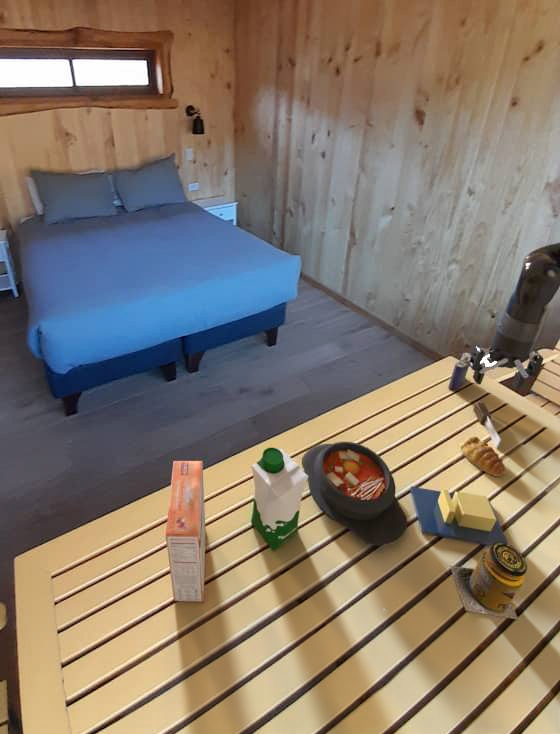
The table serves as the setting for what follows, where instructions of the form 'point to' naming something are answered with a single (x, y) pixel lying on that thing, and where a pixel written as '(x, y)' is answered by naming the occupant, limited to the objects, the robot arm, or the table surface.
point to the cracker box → (187, 531)
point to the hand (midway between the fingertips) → (495, 384)
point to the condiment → (492, 581)
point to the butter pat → (446, 506)
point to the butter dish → (446, 529)
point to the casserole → (355, 491)
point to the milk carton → (277, 496)
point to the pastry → (482, 456)
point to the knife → (487, 422)
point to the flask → (459, 372)
